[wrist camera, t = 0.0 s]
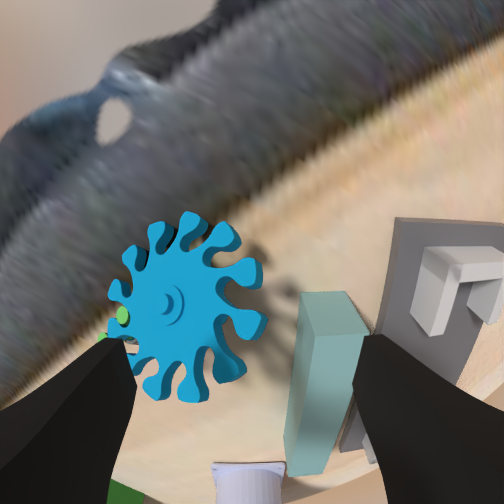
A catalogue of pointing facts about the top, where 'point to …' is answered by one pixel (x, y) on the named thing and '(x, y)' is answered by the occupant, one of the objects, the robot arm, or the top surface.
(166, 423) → the top surface
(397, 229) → the cradle
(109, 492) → the hardback book
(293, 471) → the teal rectangular block
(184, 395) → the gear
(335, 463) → the top surface
